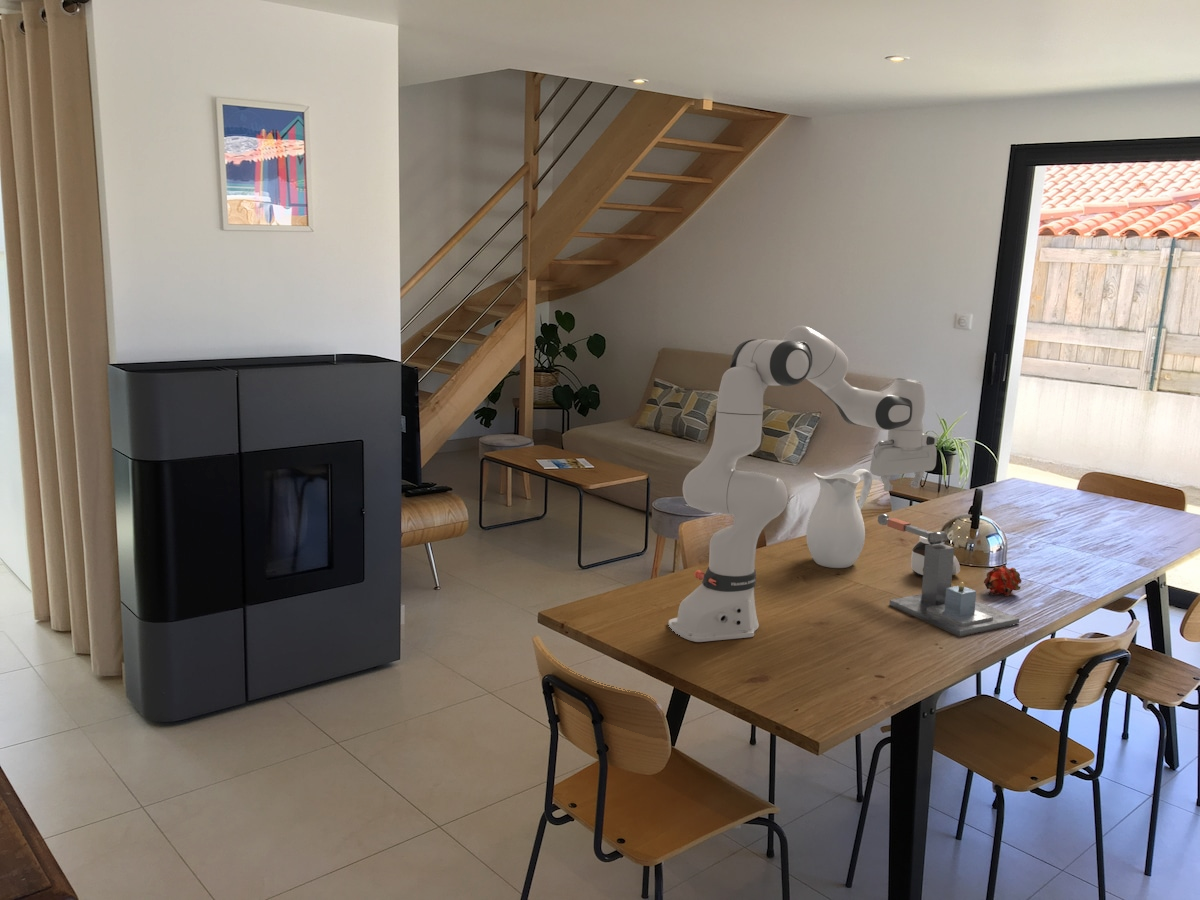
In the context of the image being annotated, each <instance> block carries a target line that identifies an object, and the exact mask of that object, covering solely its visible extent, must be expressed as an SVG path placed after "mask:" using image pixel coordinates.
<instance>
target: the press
mask: <svg viewBox="0 0 1200 900" xmlns="http://www.w3.org/2000/svg"><path fill="white" fill-rule="evenodd" d="M954 554H955V547H953V546H950V545H947V544H945V543H944V544H942V543H940V544H933V545H932V544H929V545H925V557H924V570H923V578H922V586H921V593H919V594H915V595H914V594H912V595H909V596H904V597H899V598H892V599H889V606H890V607H893V608H895V609H897V610H899V611H901V612H903V613H905V614H907V615H910V616H912V617H914V618H917V619H919V620H921V621H923V622H926V623H927V624H929V625H932V626H933V627H936V628H939V629H941V630H944V631H945V632H948V633H950V634H951V635H954V636H957V637H959V638H962V637H966V635H967V636H971V635H975V634H974V633H976V634H979V633H978V632H981V633H984V631H985V632H989V631H988V630H990V631H993V630H992V629H995V630H998V629H997V628H999V629H1001V628H1000V627H1004V626H1008V627H1011V626H1010V625H1013V624H1017V623H1019V624H1020V618H1019V617H1017V616H1014V615H1012V614H1009V613H1006V612H1004V611H1001V610H999V609H997V608H994V607H991V606H988V605H986V604H984V603H982V602H980V601H976V602H975V613H974V614H972V615H967V616H963V617H958V616H956V615H954V614H951V613H949V612H947V611H944V610H945V597H946V588H948V587H952V581H953V575H952V570H953V558H954V556H955V555H954ZM1013 626H1014V625H1013ZM1004 628H1005V627H1004ZM982 631H983V632H982ZM970 634H971V635H970Z"/></svg>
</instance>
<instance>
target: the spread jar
mask: <svg viewBox="0 0 1200 900" xmlns="http://www.w3.org/2000/svg"><path fill="white" fill-rule="evenodd" d="M929 544H930V543H929V542H928V539H927V538H925V537H922V536H919V540H918V542H917V543H916V544H915V545H914V546H913V548H912V551H911V556H910V557H911V559H910V567H911V570H912V573H914V574H915V575H916V576H917V577H919V578H922V579H923V570H924V557H925V545H929ZM942 544H945V543H942ZM960 571H961V566H960V562H959V560H958V558H957V557H956V555H954V558H953V570H952V576H955V575H957V574H959V573H960Z"/></svg>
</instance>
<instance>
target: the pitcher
mask: <svg viewBox="0 0 1200 900" xmlns="http://www.w3.org/2000/svg"><path fill="white" fill-rule="evenodd" d="M813 475H814V476H815V478H816V479H817V481H818V483H819V485H820V486H819V487H820V489H819V494H818V497H817V498H816V499H817V500H816V502H815V504H814V506H813V508H812V510H811V512H810V514H809V517H808V522H807V526H806V544H807V547H808V550H809V553H810V556H811V557H812V559H813V561H814V562H815V563H816V564H817V565H819V566H821V567H825V568H829V569H830V568H831V569H844V568H850V567H852V566H853V565H854V564H855V563H856V561H857V560H858V558H859V556H860V555H861V553H862V550H863V548H864V544H865V538H866V529H865V523H864V518H863V514H862V509H863V507H864V505H865V502H866V501H867V499H868V496H869V493H870V490H871V488H872V485H873V484H872V483H873V474H872V473H871V471H870V470H868V469H865V468H859V469H857V470H855V471H853V472H852V473H848V472H838V473H837V472H836V473H833V474H831V475H826V476H823V475H819V474H818V473H816V472H813ZM862 476H863V482H862V483H863V485H862V489H861V492H860V495H859V498H858V500H857V497H856V496H857V495H856V489H857V486H858V484H859V483H860V481H861V477H862Z"/></svg>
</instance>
